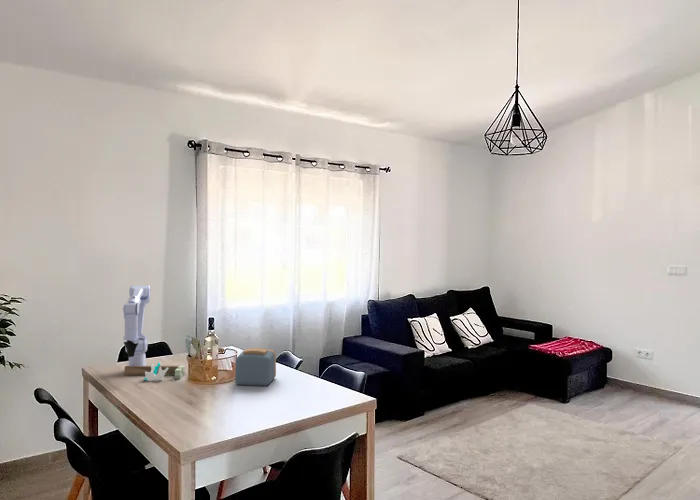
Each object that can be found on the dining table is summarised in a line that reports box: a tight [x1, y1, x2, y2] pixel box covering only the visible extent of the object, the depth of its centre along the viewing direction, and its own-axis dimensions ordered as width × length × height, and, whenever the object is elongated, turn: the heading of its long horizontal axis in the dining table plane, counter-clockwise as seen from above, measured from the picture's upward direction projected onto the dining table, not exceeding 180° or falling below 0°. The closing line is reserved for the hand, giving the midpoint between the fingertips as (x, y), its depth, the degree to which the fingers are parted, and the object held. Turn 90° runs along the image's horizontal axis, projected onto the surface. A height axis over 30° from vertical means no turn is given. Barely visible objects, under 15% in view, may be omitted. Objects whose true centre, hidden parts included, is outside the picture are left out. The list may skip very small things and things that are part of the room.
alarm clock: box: [234, 347, 277, 387], centre depth 253 cm, size 16×16×16 cm
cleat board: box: [124, 365, 186, 380], centre depth 260 cm, size 10×28×4 cm, turn 94°
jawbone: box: [143, 362, 169, 382], centre depth 255 cm, size 12×8×9 cm, turn 43°
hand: (131, 356), depth 256 cm, fingers closed
